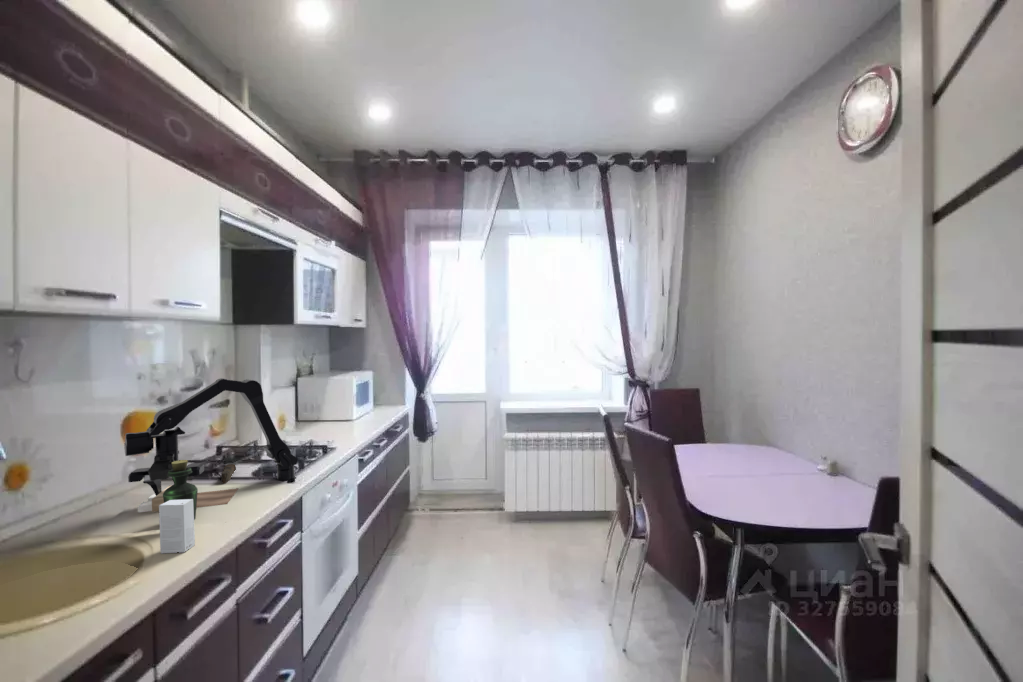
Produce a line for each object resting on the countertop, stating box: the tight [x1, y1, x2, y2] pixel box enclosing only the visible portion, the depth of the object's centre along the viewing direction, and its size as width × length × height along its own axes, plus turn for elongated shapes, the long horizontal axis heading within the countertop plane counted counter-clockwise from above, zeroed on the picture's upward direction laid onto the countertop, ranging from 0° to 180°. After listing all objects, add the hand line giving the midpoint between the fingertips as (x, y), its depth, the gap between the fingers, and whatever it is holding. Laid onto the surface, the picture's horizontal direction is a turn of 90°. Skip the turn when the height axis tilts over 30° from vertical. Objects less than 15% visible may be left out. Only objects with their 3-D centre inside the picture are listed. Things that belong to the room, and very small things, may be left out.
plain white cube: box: [147, 493, 156, 501], centre depth 151 cm, size 4×4×3 cm
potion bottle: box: [163, 459, 199, 521], centre depth 133 cm, size 8×8×18 cm
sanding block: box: [151, 484, 173, 513], centre depth 148 cm, size 14×4×5 cm, turn 18°
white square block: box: [137, 500, 152, 513], centre depth 143 cm, size 4×4×3 cm
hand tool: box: [220, 463, 237, 485], centre depth 175 cm, size 19×4×5 cm, turn 23°
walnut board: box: [196, 488, 239, 509], centre depth 152 cm, size 16×14×1 cm
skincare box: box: [158, 499, 196, 554], centre depth 118 cm, size 6×4×12 cm
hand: (168, 499), depth 148 cm, fingers open, 4 cm apart
